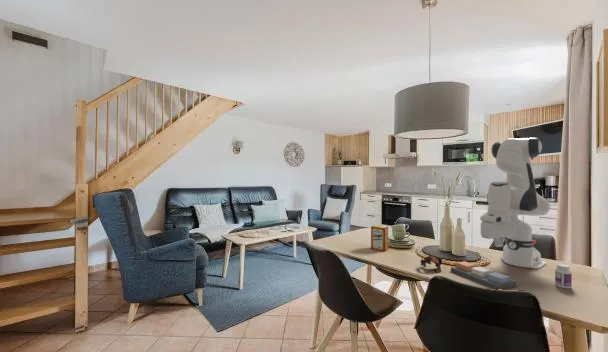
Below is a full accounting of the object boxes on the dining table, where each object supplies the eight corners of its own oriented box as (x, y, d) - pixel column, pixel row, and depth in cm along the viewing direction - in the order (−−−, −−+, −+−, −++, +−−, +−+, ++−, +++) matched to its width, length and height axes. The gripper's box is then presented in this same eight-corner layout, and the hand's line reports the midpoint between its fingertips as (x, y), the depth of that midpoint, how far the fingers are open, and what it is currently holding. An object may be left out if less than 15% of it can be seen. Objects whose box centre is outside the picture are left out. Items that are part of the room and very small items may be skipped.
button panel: (466, 268, 140) (466, 264, 140) (516, 286, 118) (516, 281, 118) (450, 271, 136) (450, 267, 136) (499, 290, 114) (499, 286, 114)
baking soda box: (388, 249, 175) (388, 226, 175) (384, 251, 170) (384, 227, 169) (374, 246, 181) (374, 224, 180) (371, 249, 175) (371, 225, 175)
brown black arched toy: (435, 275, 132) (426, 260, 134) (422, 277, 140) (414, 262, 143) (450, 266, 137) (441, 251, 139) (437, 268, 145) (429, 254, 147)
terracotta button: (464, 266, 138) (464, 261, 138) (475, 270, 133) (475, 264, 133) (456, 268, 136) (456, 262, 136) (467, 272, 131) (467, 266, 131)
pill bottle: (570, 286, 118) (571, 265, 118) (572, 290, 114) (572, 268, 114) (554, 282, 122) (554, 262, 122) (555, 286, 118) (555, 265, 118)
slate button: (496, 278, 123) (496, 272, 123) (509, 283, 118) (509, 276, 118) (488, 280, 121) (488, 273, 121) (501, 285, 116) (501, 278, 116)
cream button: (479, 272, 131) (479, 266, 131) (491, 276, 125) (491, 270, 125) (471, 273, 129) (471, 267, 129) (483, 278, 123) (483, 272, 123)
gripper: (505, 214, 126) (505, 242, 126) (477, 216, 118) (477, 246, 118) (520, 216, 120) (520, 246, 120) (492, 219, 113) (491, 250, 113)
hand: (498, 246), depth 119 cm, fingers closed
